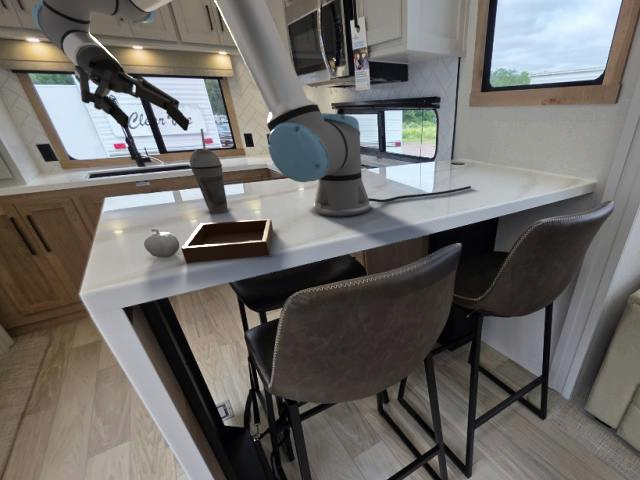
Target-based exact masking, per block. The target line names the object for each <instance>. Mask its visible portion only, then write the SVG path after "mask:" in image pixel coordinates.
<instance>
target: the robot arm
mask: <svg viewBox="0 0 640 480" xmlns="http://www.w3.org/2000/svg"><path fill="white" fill-rule="evenodd" d="M173 1H174V0H41V1H38V2H36V3H35V5H34V6H33V8H32V10H31V13H32V14H31V16H32V19H33V21H34V24H35V25H36V26H37V27H38V29H39V31H41V33H43V35H44V36H45V37H46V39H47V40H48V41H50V42H51V43H52V44H53V45H54V46H55V47H57V48H58V49H59V51H61V52H62V53H63V54H64V55H65V56H66V58H68V59H69V60H70V61H71V62H72V63H73V64H74V78H75V79H76V80H77V81H78V83H79V89H80V97H81V98H80V99H81V102H82V103H84V104H90V103H92V104H93V108H94V109H96V110H98V111H101V110H102V111H103V113H105V114H106V115H110V116H111V117H112V118H113V119H114V120H115V121H116V122H117V123H118V124H119V125H120V126H121V127H122V128H123V129H128V127H129V121H130V117H129V115H128V114H127V113H126V112H124V110H123V109H122V108H121V107H119V106H118V104H116V103H115V102H114V101H113V99H111V98H110V97H109V96H108V95H109V94H110V92H111V91H112V92H114V93H117V94H125V95H130V96H131V97H133V98H135V99H139V98H140V99H142V100H144V101H146V102H148V103H150V104H152V105H154V106H156V107H158V108H160V109H162V110H164V111H165V112H166V114H167V115H168V117H170V118H171V119H172V120H173V121H174V122H175V124H177V125H178V126H179V127H180V128H181V129H182V130H183V131H185V132H186V131H187V132H188V130H189V125H190V120H189V119H188V118H187V117H186V116H185V115H184V113H183V112H182V111H181V110H180V109H179V106H180V101H179V100H178V99H176V98H175V97H173V96H171V95H170V94H168V93H166V92H165V91H163V90H162V89H160V88H159V87H157V86H156V85H154V84H152V83H150V82H149V81H148V80H146V79H145V77H143V76H141V75H137V78H133V77H132V76H131V75H129V74H128V73H126V72H125V70H124V68H123V66H122V64H121V63H120V62H119V60H117V58H115V57H114V56H113V55H112V54H111V53H110V52H109V51H108V50H107V49H106V47H104V46H103V45H102V44H101V43H100V42H99V41H98V40H97V39H96V38H95V37H94V36H93V35H92V34H91V33H90V28H91V27H90V25H91V17H92V13H96V14H101V15H106V16H111V17H114V18H120V19H123V20H128V21H132V22H135V23H145V24H146V23H147V24H150V23H153V21H154V20H155V16H157V9H159V8H161V7H164V6H165V5H167V4H169V3H171V2H173ZM214 3H215V4H216V6H217V9H218V11H219V12H220V14H221V17H222V20H223V21H224V23H225V25H226V27H227V29H228V31H229V33H230V35H231V37H232V40H233V42H234V44H235V46H236V48H237V50H238V52H239V54H240V56H241V58H242V60H243V62H244V65H245V66H246V68H247V71H248V72H249V74H250V77H251V79H252V81H253V83H254V85H255V87H256V89H257V91H258V93H259V95H260V97H261V99H262V102H263V103H264V106H265V108H266V110H267V112H268V117H267V121H266V126H267V128H268V131H269V133H270V134H269V136H268V142H269V144H268V145H267V147H268V153H269V156H270V159H271V161H272V163H273V165H274V166H275V167H276V169H277V170H278V171H279V172H280V173H281V174H282V175H283V176H285V177H286V178H288V179H290V180H292V181H294V182H297V183H309V182H316V181H317V184H316V185H317V186H316V190H315V196H314V200H313V208H314V212H315V213H317V214H319V215H322V216H327V217H352V216H359V215H362V214H364V213H366V212H368V211H369V210H370V208H371V207H370V202H373V203H374V202H375V203H389V202H392V201H396V200H400V199H401V200H403V199H410V198H421V197H422V198H423V197H432V196H437V195H438V196H439V195H446V194H450V193H456V192H461V191H465V190H469V189H472V186H471V185H468V186H464V187H459V188H455V189H449V190H443V191H442V190H441V191H436V192H428V193H417V194H406V195H398V196H394V197H389V198H384V199H379V198H369V196H368V193H367V190H366V187H365V186H364V182H363V178H362V177H363V175H362V156H361V155H362V153H361V130H360V124H359V120H358V119H357V118H356V116H352V115H348V114H341V113H330V112H329V113H328V112H326V113H325V112H324V113H323V112H321V109H320V107H319V105H318V103H316V102H315V101H313V100H311V99H309V98H308V96H307V95H306V92H305V90H304V88H303V86H302V83H301V81H300V79H299V77H298V75H297V72H296V70H295V67H294V65H293V63H292V60H291V58H290V56H289V53H288V51H287V49H286V47H285V44H284V42H283V40H282V37H281V35H280V33H279V31H278V27H277V26H276V24H275V21H274V19H273V16H272V15H271V12H270V10H269V8H268V6H267V3H266V1H265V0H214ZM90 81H91V82H92V83H93V84H95V85H96V86H97V87H96V89H95V90H94V93H93V92H91V89H90V88H91V87H90V83H89V82H90ZM134 86H135V91H134Z"/></svg>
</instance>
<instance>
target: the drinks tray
mask: <svg viewBox="0 0 640 480" xmlns="http://www.w3.org/2000/svg"><path fill="white" fill-rule="evenodd" d="M273 227H274V226H273V222H272V219H271V218H263V219H249V220H233V221H218V222H206V223H204V222H203V223H199V225H198V226H197V227H196V228H195V230H194V231H193V232H192V234H191V235H190V236H189V238H188V239H187V240H186V241H185V242H184V244H183V245H182V247H181V248H180V249H181V252H182V255H183V258H184V261H185V264H196V263H206V262H218V261H226V260H227V261H228V260H239V259H249V258H250V259H251V258H259V257H261V258H262V257H269V256H270V254H271V248H272V242H273V236H274V228H273Z"/></svg>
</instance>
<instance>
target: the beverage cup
mask: <svg viewBox="0 0 640 480" xmlns="http://www.w3.org/2000/svg"><path fill="white" fill-rule="evenodd" d="M200 135H201V142H202V148H198V149H195V150H194V151H193V152H192V153H191V154H190V157H189V165H190V166H189V168H190V169H191V171H192V173H193V175H194V177H195V179H196V182H197V184H198V187H199V190H200V193H201V194H202V197H203V200H204V202H205V204H206V207H207V209H208V211H209V213H210V214H223V213H226V212H228V211H229V208H228V202H227V201H228V200H227V196H226V190H225V189H226V188H225V182H224V178H223V164H222V162H221V159H220V158H219V156H218V155H217V154H216V153H214V151H212V150H210V149H207V148H206V140H205V134H204V129H203V128H200Z"/></svg>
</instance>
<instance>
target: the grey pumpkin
mask: <svg viewBox="0 0 640 480" xmlns="http://www.w3.org/2000/svg"><path fill="white" fill-rule="evenodd" d="M150 231H151V232H153V233H151V234H150V235H148V236H147V237H146V238H145V240H144V242H143V246H144V249H145V250H146V251H147V252H148V253H149V254H150V255H151V256H153V257H156V258H159V259H160V258H162V259H165V258H171V257H173V256H174V255H175V254H176V253H177V252H178V251H179V249H180V241H179V239H178V238H177V236H175V235H174V234H173V233H171V232H169V231H160V230H159V229H158V228H151V229H150Z"/></svg>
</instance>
